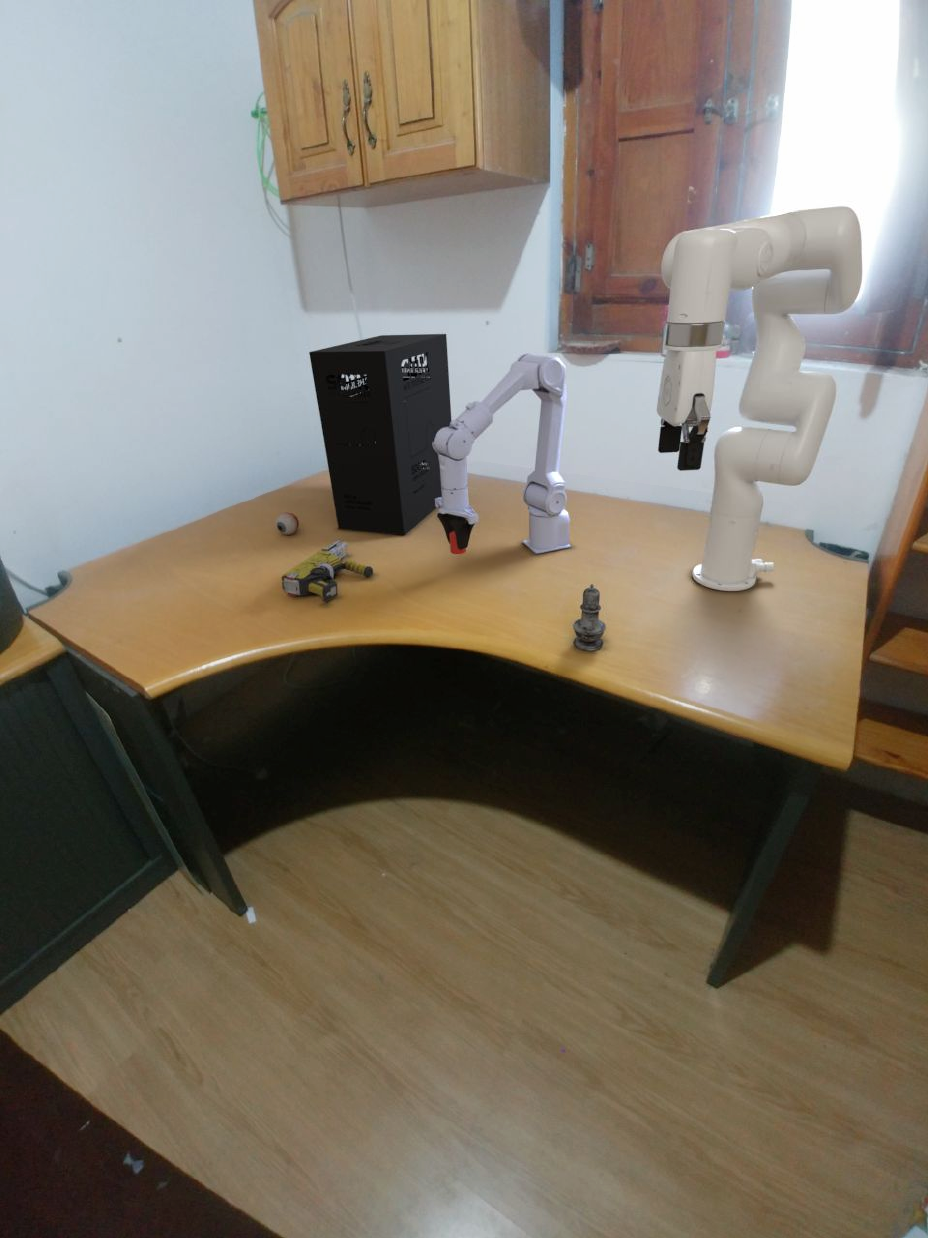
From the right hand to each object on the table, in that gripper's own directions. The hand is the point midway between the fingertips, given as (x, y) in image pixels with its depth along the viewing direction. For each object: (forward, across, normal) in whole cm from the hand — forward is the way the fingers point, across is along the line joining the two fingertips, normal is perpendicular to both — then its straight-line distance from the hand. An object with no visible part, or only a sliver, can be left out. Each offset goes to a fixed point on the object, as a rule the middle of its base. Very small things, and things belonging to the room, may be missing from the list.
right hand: (678, 460), depth 91 cm
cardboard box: (+34, -80, -53) cm, 101 cm away
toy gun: (+34, -34, -63) cm, 79 cm away
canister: (+28, -34, -35) cm, 57 cm away
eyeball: (+34, -64, -82) cm, 109 cm away
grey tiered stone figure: (+34, -2, -12) cm, 36 cm away
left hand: (+27, -34, -35) cm, 56 cm away
